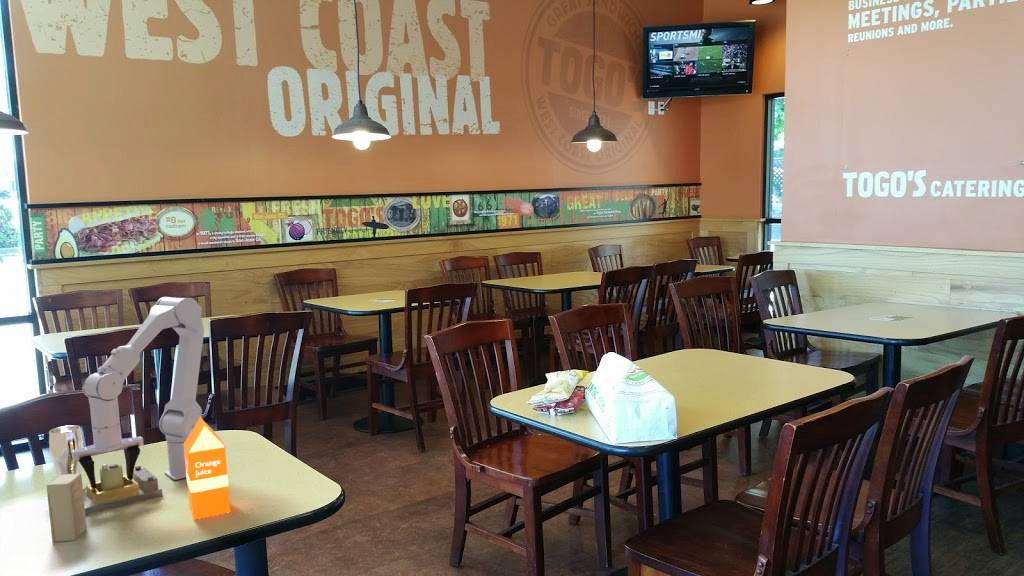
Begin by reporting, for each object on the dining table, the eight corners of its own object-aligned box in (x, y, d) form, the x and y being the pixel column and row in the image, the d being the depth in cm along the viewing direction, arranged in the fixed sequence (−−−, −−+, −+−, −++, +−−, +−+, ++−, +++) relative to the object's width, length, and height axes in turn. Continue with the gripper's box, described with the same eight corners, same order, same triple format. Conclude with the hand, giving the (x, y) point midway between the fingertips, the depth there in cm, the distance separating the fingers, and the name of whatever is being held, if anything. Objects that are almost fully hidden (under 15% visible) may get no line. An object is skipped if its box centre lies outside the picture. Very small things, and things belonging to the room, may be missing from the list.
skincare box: (66, 530, 167) (59, 473, 165) (88, 528, 167) (82, 472, 166) (51, 543, 160) (44, 484, 159) (74, 541, 161) (68, 483, 159)
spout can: (120, 488, 186) (117, 459, 185) (127, 492, 183) (124, 463, 182) (99, 493, 183) (96, 464, 182) (106, 498, 180) (103, 468, 179)
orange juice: (192, 520, 169) (184, 428, 167) (188, 507, 177) (180, 419, 175) (231, 512, 173) (224, 422, 170) (225, 499, 180) (218, 413, 178)
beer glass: (73, 496, 186) (66, 433, 185) (47, 495, 188) (40, 433, 186) (94, 485, 193) (88, 425, 191) (69, 484, 195) (63, 424, 193)
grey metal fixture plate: (147, 482, 194) (145, 464, 193) (162, 495, 185) (160, 476, 184) (64, 502, 182) (62, 483, 182) (75, 517, 173) (73, 497, 173)
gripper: (74, 435, 174) (80, 496, 175) (145, 421, 183) (150, 479, 185) (67, 429, 179) (73, 487, 181) (136, 416, 188) (141, 471, 190)
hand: (112, 483), depth 183 cm, fingers open, 7 cm apart
